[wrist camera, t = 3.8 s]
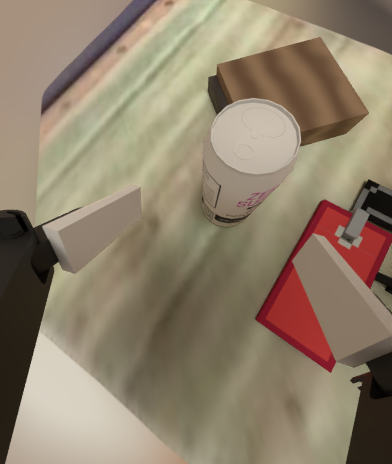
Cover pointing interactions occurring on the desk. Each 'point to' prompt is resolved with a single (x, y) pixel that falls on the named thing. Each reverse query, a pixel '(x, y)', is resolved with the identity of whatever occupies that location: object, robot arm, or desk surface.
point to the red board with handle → (353, 252)
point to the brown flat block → (293, 88)
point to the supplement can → (246, 158)
